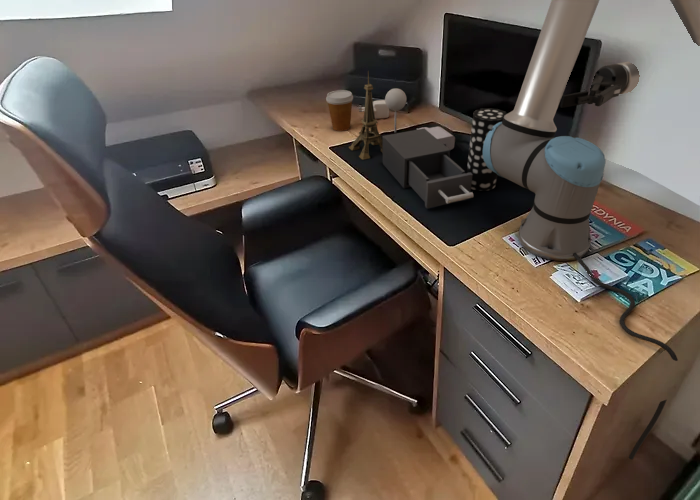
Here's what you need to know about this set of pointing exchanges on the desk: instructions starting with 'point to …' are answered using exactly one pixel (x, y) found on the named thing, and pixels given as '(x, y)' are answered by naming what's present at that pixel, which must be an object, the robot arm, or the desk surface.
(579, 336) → the desk surface
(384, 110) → the power adapter
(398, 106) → the lollipop
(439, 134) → the charger
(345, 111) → the disposable coffee cup
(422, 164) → the drawer
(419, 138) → the cabinet
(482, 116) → the white-spotted black cylinder
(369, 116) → the eiffel tower
